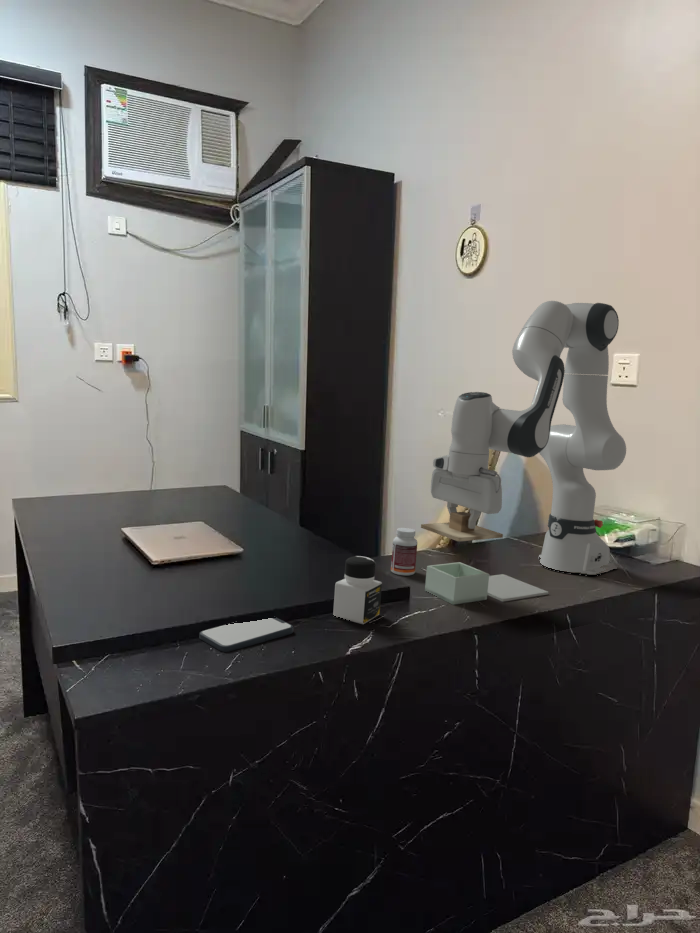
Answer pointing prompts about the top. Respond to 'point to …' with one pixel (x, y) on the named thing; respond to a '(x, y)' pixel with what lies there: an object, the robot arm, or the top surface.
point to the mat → (511, 588)
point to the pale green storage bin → (457, 583)
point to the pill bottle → (404, 552)
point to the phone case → (245, 633)
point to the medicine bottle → (358, 591)
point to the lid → (461, 529)
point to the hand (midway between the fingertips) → (462, 525)
